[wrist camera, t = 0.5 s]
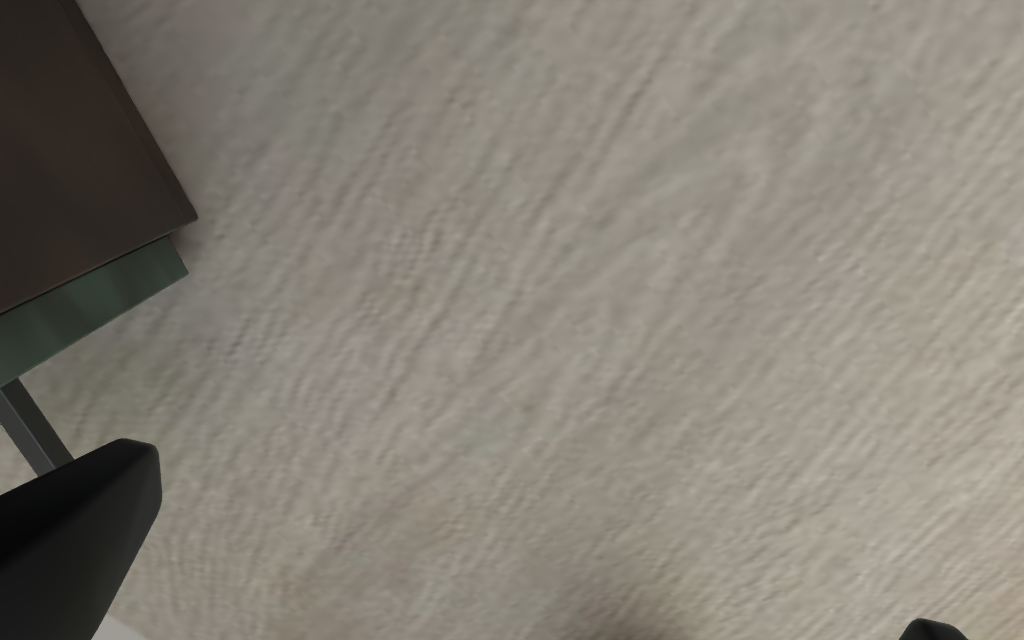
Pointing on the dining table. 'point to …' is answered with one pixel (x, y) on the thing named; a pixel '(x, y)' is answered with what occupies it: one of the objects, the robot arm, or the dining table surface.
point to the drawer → (70, 336)
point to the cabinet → (71, 156)
